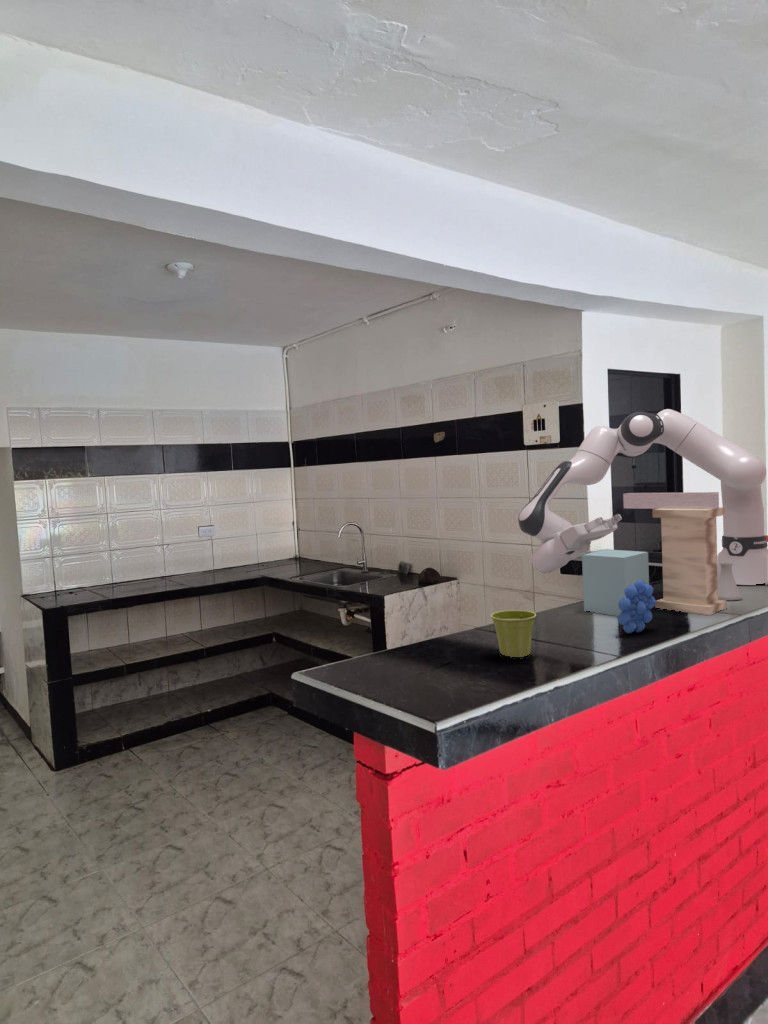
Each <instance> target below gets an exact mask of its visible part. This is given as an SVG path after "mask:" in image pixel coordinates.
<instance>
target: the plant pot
mask: <svg viewBox="0 0 768 1024" xmlns="http://www.w3.org/2000/svg"><path fill="white" fill-rule="evenodd" d="M536 617H537V614H536V612H533V611H528V610H521V609H516V610H514V609H513V610H512V609H511V610H510V609H509V610H501V611H496V612H492V613H491V614H490V618H491V619H492V622H493V625H494V627H495V633H496V637H497V643H498V649H499V654H500V653H501V654H502V655H505V656H510V658H512V657H524V656H527V655H529V654H530V655H531V649H532V637H533V628H534V626H533V625H534V623H535V618H536ZM530 655H529V656H530Z"/></svg>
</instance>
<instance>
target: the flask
mask: <svg viewBox="0 0 768 1024" xmlns="http://www.w3.org/2000/svg"><path fill="white" fill-rule="evenodd" d="M720 565H721V572H720V577H719V580H718V600H726V601H738V600H743V599H742V596H741V593H740V591H739V588H738V586H737V585H736V583H735V581H734V578H733V574H732V565H733V563H732V562H720Z"/></svg>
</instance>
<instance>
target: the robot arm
mask: <svg viewBox="0 0 768 1024" xmlns="http://www.w3.org/2000/svg"><path fill="white" fill-rule="evenodd" d="M653 444H660V445H663V446H666V447H667V448H668V449H670V450H672V451H673V452H674V453H676V454H678V455H679V456H680V457H683V458H684V459H685V460H686V461H689V462H690V463H692V464H693V465H695V467H696V466H697V467H698V468H699V469H701V470H703V471H704V472H706V473H708V474H709V475H711V476H713V477H715V478H716V479H717V480H720V490H721V493H720V494H721V503H722V504H721V505H722V506H721V507H725V515H722V525H723V528H722V530H723V532H722V533H723V535H722V537H721V547H722V550H721V551H720V552H718V553H717V572H718V580H719V577H720V572H721V565H720V562H732V563H733V565H732V574H733V578H734V581H735V583H736V586H737V585H740V586H757V585H756V584H762V583H768V535H767V534H766V535H765V508H764V503H763V494H762V484H763V482H765V479H766V476H767V468H766V464H765V463H764V461H763V460H762V459H761V458H759V457H758V456H757V455H755V454H753V453H751V452H750V451H748V450H747V449H744V448H743V447H741V446H739V445H737V444H736V443H734V442H732V441H730V440H728V439H726V437H723V436H721V435H720V434H718V433H716V432H714V431H713V430H712V429H709V428H708V427H707V426H704V425H703V424H701V423H700V422H698V421H697V420H695V419H693V418H692V417H690V416H688V415H686V414H684V413H681V412H679V411H677V410H674V409H671V408H666V409H662V410H661V411H659V412H658V413H653V412H652V413H651V412H650V413H649V412H645V411H635V412H633V413H630V414H629V415H627V416H625V418H624V419H623V421H622V422H621V424H620V425H619V427H618V428H611V427H610V426H605V425H596V426H595V427H593V428H591V430H590V431H589V432H588V434H587V435H586V436H585V437H584V439H583V440H582V442H581V443H580V445H579V447H578V449H577V451H576V453H575V454H574V455H573V457H572V458H570V459H569V460H565V461H562V462H561V463H559V465H557V466H556V467H555V469H553V471H552V472H551V473H550V475H549V476H548V478H546V480H545V482H543V484H542V485H541V486H540V488H539V490H538V491H537V492H536V493H535V495H534V496H533V497H532V499H531V500H529V502H528V503H527V504H526V505H525V506H524V507H523V508H522V509H521V511H520V513H519V514H518V517H517V519H518V525H519V529H520V530H521V532H522V533H524V534H526V535H528V536H531V537H533V538H536V539H537V540H539V541H540V544H539V546H538V547H537V548H536V549H535V550H534V551H533V552H532V553H531V554H530V557H529V560H530V562H531V564H532V566H533V567H534V569H536V570H537V571H539V572H541V573H542V574H550V573H553V572H555V571H558V570H559V569H561V568H562V567H564V566H566V565H568V563H569V562H570V561H572V560H575V559H577V558H579V557H580V556H582V555H584V554H586V553H587V552H588V551H589V550H590V547H591V543H592V542H593V541H598V540H600V539H602V538H604V537H606V536H608V535H609V534H611V533H614V532H615V531H616V530H617V529H618V527H619V526H618V522H620V521H621V520H622V519H623V518H622V516H621V514H619V513H617V514H615V515H613V516H612V517H610V518H604V519H603V517H602V516H601V517H596V518H595V519H593V520H591V521H589V522H583V523H578V524H574V525H573V523H571V522H570V521H568V520H566V519H565V518H564V517H562V516H560V515H558V514H556V513H555V512H553V511H552V510H550V509H549V505H550V503H551V502H552V501H553V499H554V498H555V497H556V495H557V494H558V492H559V491H560V490H561V489H562V488H563V486H564V485H566V484H574V485H578V486H579V485H580V486H591V485H595V484H598V483H599V482H601V481H602V480H603V479H604V477H605V476H606V474H607V473H608V471H609V469H610V467H611V465H612V463H613V461H614V459H615V457H621V458H622V457H623V458H626V459H627V458H628V459H636V458H639V457H641V456H643V455H644V454H645V453H646V452H647V451H648V450H649V449H650V447H651V446H652V445H653Z"/></svg>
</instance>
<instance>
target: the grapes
mask: <svg viewBox="0 0 768 1024" xmlns="http://www.w3.org/2000/svg"><path fill="white" fill-rule="evenodd" d="M624 593H625V596H626V597H624V598H622V599H621V600H620V601H619V603H618V606H619V609H620V610H622V611H623V612H621V613H620V614H619V616H617V621H618V623H619V624H620V625H622V626H623V630H624V632H625V633H626V634H632V633H633V632H635V633H641V632H643V630H644V629H645V627H646V624H648V623H649V622H650V621H651V620H652V619H653V612H652V610H651V609H654V607H655V604H656V601H657V600H656V598H655V597H654V596H653V593H654V588H653V586H652V585H651V584H650V583H649V584H645V582H644V581H643V580H638V581H636V582H635V583H634V585H629V586H627V587H626V589H625V591H624ZM645 623H646V624H645Z"/></svg>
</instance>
